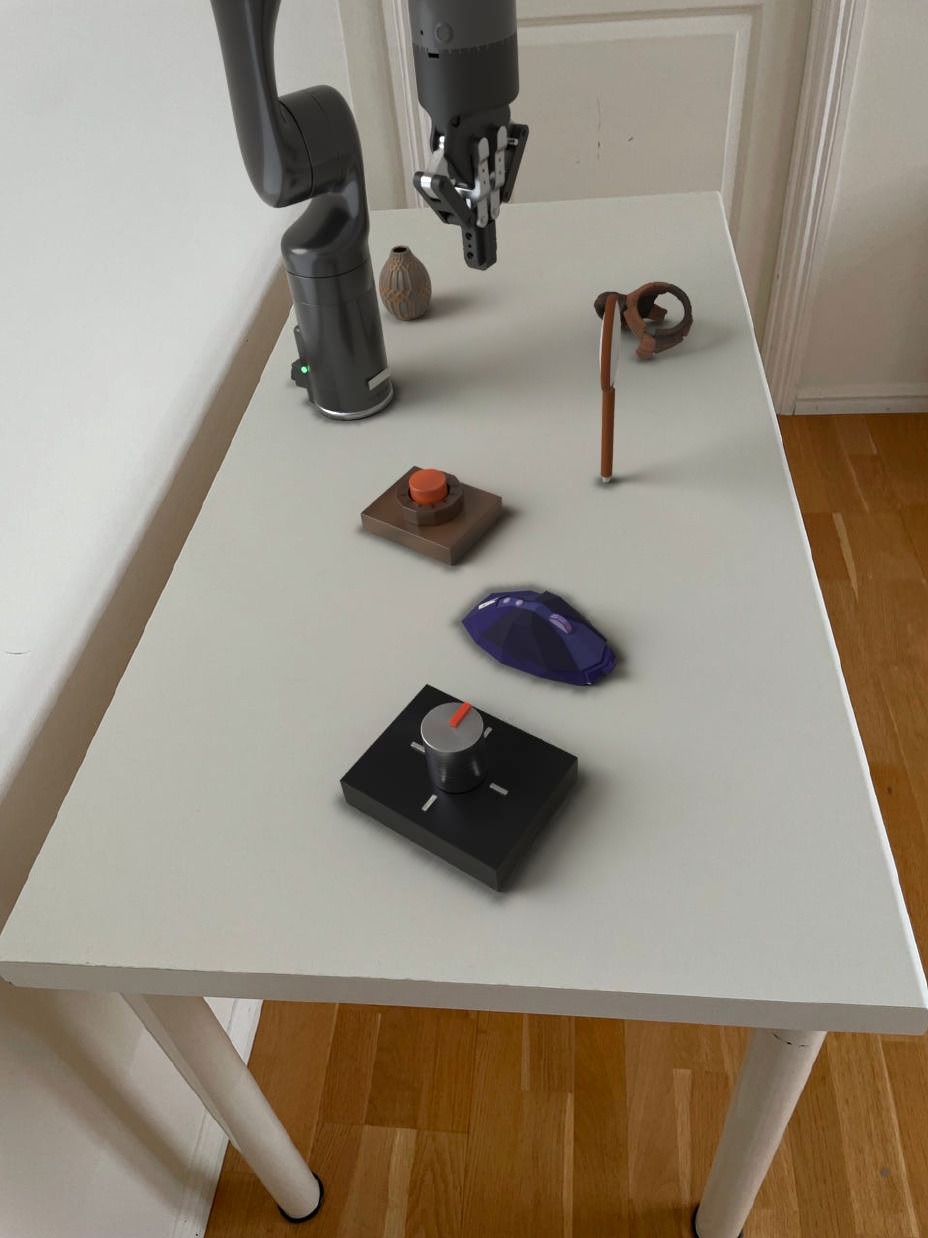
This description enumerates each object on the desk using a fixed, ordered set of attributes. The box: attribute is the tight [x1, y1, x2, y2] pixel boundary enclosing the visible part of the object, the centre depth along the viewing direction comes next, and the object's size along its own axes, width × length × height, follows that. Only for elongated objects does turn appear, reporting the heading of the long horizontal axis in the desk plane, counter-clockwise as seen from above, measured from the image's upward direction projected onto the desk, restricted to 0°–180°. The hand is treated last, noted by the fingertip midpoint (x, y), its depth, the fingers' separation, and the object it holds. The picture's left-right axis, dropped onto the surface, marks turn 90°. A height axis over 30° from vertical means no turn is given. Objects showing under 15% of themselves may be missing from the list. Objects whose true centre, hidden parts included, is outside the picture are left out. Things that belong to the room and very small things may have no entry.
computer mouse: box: [460, 590, 617, 686], centre depth 81 cm, size 9×15×4 cm, turn 50°
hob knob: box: [421, 701, 488, 793], centre depth 68 cm, size 4×4×5 cm
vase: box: [378, 244, 433, 321], centre depth 123 cm, size 7×7×9 cm
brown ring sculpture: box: [593, 281, 694, 360], centre depth 114 cm, size 12×10×8 cm
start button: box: [409, 468, 448, 504], centre depth 92 cm, size 4×4×2 cm
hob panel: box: [339, 683, 579, 893], centre depth 71 cm, size 14×11×3 cm
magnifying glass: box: [599, 294, 622, 483], centre depth 90 cm, size 9×2×20 cm, turn 168°
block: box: [360, 465, 504, 567], centre depth 93 cm, size 11×9×4 cm
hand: (481, 265), depth 78 cm, fingers closed
